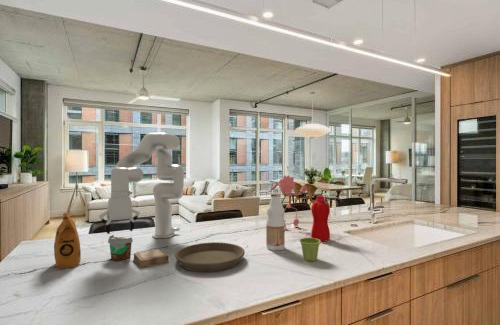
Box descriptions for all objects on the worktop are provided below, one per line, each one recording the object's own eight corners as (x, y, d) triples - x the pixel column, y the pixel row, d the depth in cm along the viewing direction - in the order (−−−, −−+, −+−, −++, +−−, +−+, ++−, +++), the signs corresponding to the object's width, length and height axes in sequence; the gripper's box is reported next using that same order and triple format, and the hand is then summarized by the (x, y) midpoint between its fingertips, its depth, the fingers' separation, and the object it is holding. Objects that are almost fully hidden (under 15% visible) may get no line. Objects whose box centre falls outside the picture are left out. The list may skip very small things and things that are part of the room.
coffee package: (52, 271, 119) (51, 217, 119) (55, 261, 130) (54, 212, 130) (80, 266, 124) (80, 215, 124) (80, 258, 135) (80, 210, 134)
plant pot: (308, 264, 127) (308, 244, 127) (295, 257, 135) (295, 239, 135) (324, 260, 131) (325, 241, 131) (311, 254, 140) (311, 236, 140)
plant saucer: (170, 255, 140) (170, 245, 140) (231, 247, 152) (231, 238, 152) (182, 279, 111) (182, 268, 111) (255, 267, 123) (255, 257, 123)
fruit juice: (267, 251, 145) (267, 195, 145) (265, 245, 155) (265, 192, 154) (285, 250, 146) (286, 194, 145) (283, 245, 155) (283, 192, 155)
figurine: (310, 227, 193) (309, 175, 194) (275, 231, 183) (274, 176, 184) (297, 223, 207) (296, 174, 208) (265, 227, 197) (264, 175, 198)
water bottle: (325, 243, 158) (325, 197, 157) (308, 239, 166) (308, 195, 166) (334, 240, 164) (335, 196, 163) (318, 236, 172) (318, 194, 172)
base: (160, 254, 139) (160, 248, 139) (168, 262, 130) (168, 255, 130) (133, 259, 132) (133, 252, 132) (141, 267, 123) (141, 260, 123)
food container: (101, 259, 132) (101, 238, 132) (112, 255, 138) (112, 234, 138) (122, 263, 128) (122, 240, 128) (132, 259, 134) (132, 237, 133)
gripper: (137, 192, 141) (137, 228, 141) (97, 194, 131) (97, 232, 131) (141, 194, 135) (141, 231, 135) (100, 196, 125) (100, 236, 125)
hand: (119, 231), depth 133 cm, fingers open, 9 cm apart
